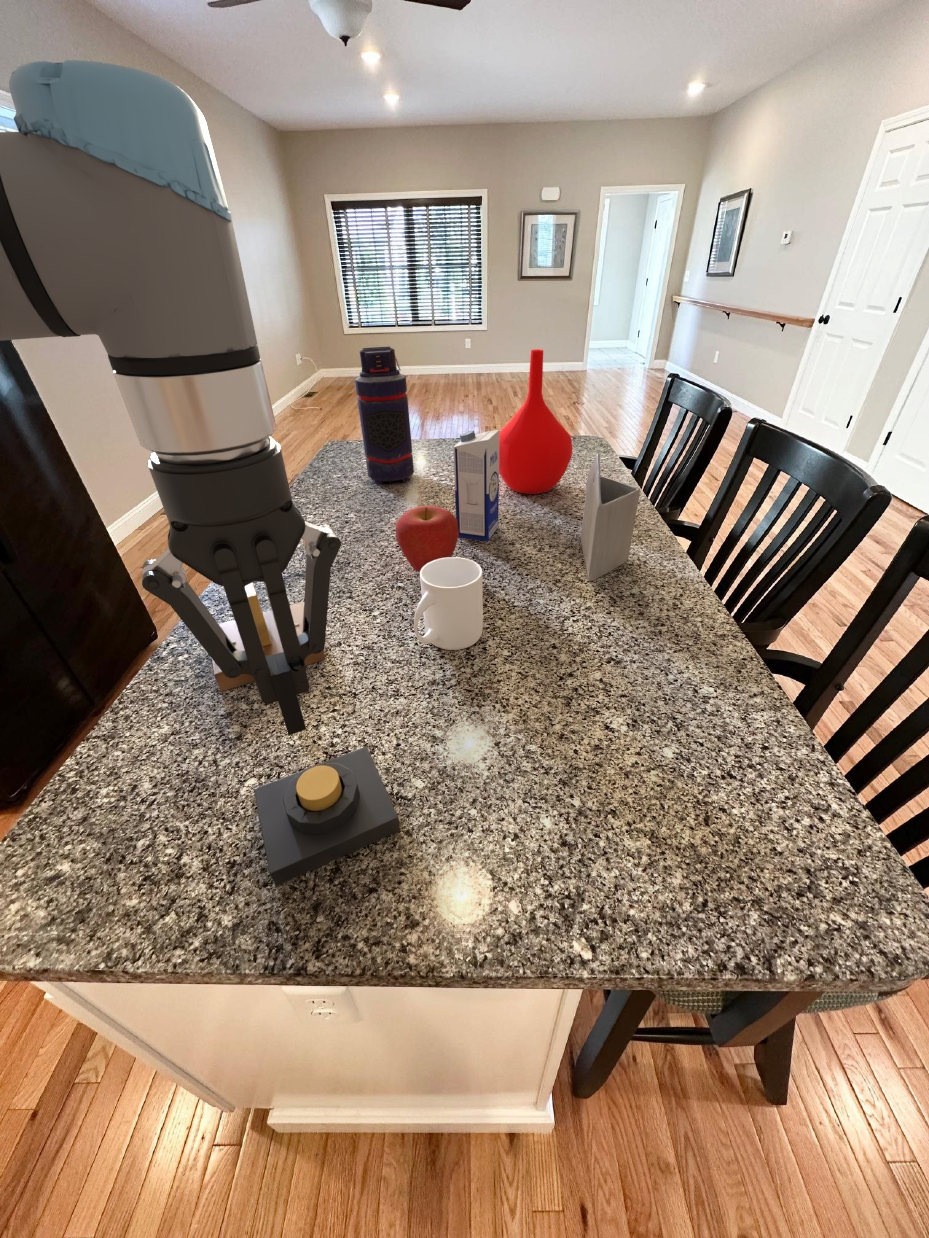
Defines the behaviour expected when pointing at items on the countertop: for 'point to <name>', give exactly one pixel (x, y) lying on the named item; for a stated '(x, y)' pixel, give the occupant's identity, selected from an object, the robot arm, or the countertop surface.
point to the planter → (607, 522)
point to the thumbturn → (257, 614)
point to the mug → (451, 603)
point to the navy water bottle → (384, 416)
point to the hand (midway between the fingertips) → (294, 721)
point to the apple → (426, 535)
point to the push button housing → (324, 818)
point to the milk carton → (477, 484)
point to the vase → (534, 441)
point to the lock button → (319, 788)
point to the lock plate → (270, 649)
